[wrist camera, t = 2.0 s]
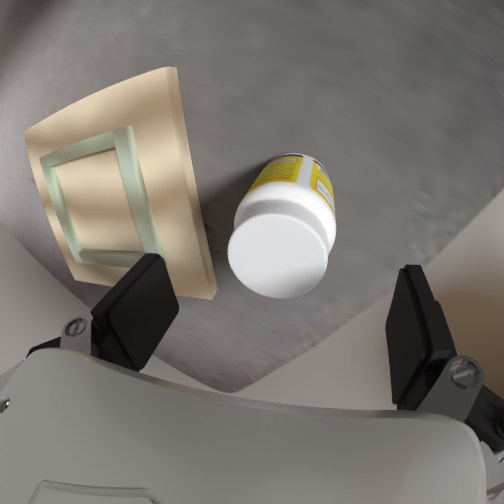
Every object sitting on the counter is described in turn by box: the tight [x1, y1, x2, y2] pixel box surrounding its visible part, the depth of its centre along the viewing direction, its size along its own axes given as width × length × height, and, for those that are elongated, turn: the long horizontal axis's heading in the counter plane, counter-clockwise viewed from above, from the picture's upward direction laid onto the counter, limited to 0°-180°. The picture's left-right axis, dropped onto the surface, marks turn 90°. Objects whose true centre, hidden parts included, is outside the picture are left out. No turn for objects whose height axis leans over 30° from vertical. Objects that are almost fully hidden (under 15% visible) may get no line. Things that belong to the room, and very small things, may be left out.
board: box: [24, 67, 218, 299], centre depth 21 cm, size 18×18×2 cm
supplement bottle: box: [228, 153, 336, 298], centre depth 14 cm, size 5×5×8 cm
